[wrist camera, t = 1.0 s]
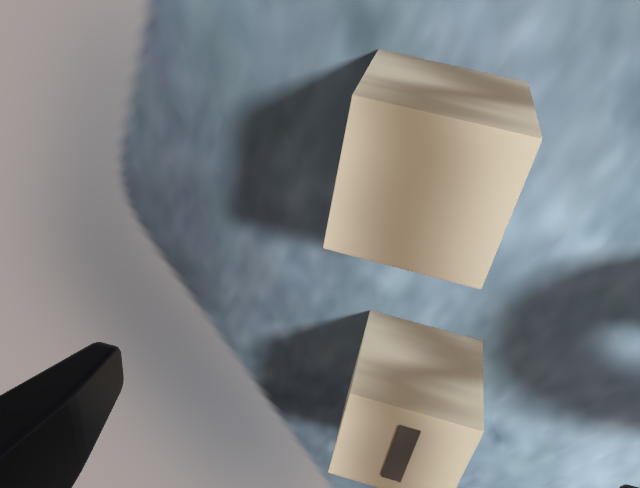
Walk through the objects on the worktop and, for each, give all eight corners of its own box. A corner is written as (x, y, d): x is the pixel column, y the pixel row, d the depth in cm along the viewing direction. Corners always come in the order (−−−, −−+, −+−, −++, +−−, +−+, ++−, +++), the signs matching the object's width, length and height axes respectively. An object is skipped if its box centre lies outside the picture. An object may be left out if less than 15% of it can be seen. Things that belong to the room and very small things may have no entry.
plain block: (527, 81, 19) (542, 138, 14) (480, 211, 21) (481, 289, 17) (378, 48, 19) (352, 94, 15) (351, 179, 22) (322, 248, 18)
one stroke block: (482, 339, 24) (484, 434, 20) (450, 414, 27) (445, 510, 23) (370, 308, 25) (349, 395, 21) (349, 385, 28) (327, 474, 24)
